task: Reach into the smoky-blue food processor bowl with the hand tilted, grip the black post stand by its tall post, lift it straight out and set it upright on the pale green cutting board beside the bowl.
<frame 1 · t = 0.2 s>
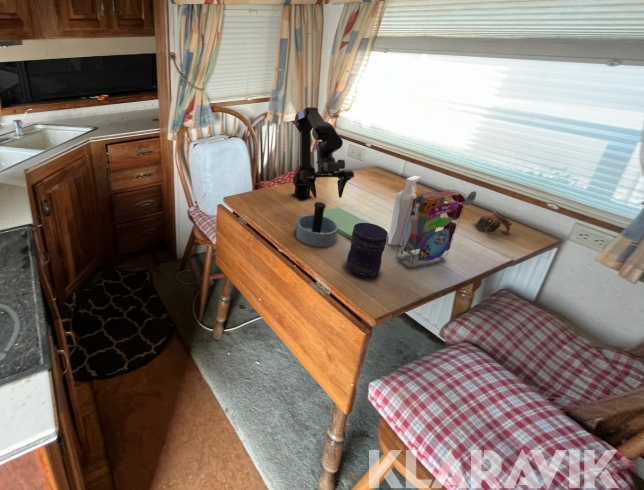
hand: (327, 197, 132), 15 cm above the table, tool tilted 35°, fingers open, 9 cm apart
cutting board: (344, 224, 143), on the table
processor bowl: (315, 236, 135), on the table
white pump bottle: (395, 242, 131), on the table
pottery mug: (490, 231, 138), on the table
storage jar: (361, 270, 116), on the table
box: (430, 258, 122), on the table
black post stand: (315, 235, 135), point 1 cm above the table, touching processor bowl
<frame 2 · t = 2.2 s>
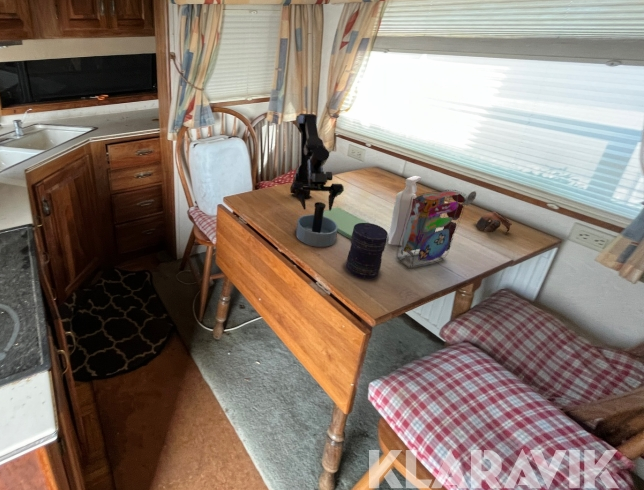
hand: (317, 210, 133), 10 cm above the table, tool tilted 45°, fingers open, 9 cm apart
nothing on the table moved.
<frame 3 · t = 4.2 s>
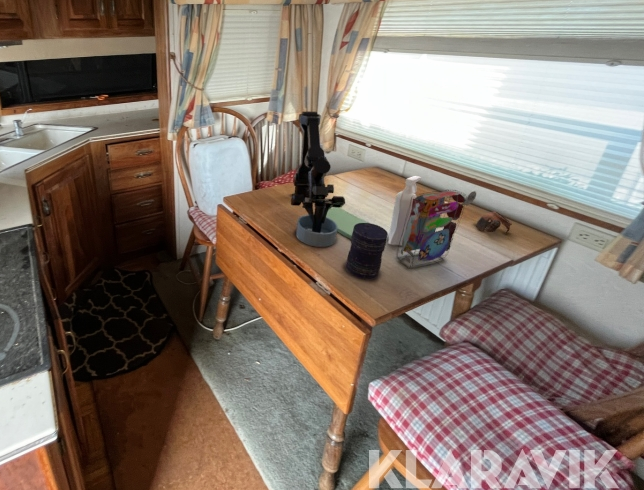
hand: (318, 223, 131), 7 cm above the table, tool tilted 45°, fingers closed on black post stand, 3 cm apart
black post stand: (315, 235, 135), point 1 cm above the table, touching gripper, processor bowl
everything else where it was.
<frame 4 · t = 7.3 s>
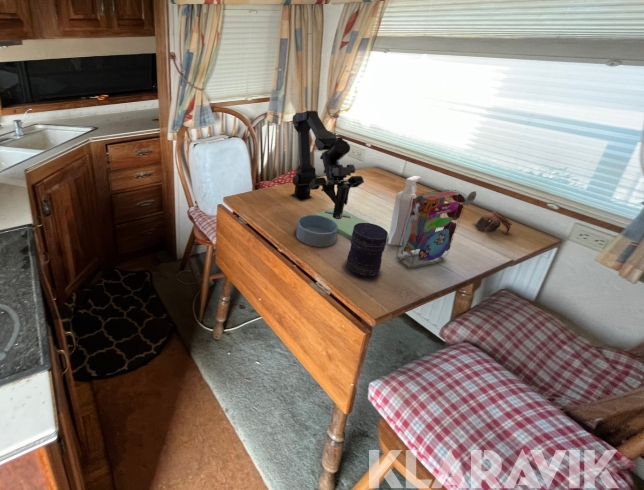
hand: (341, 204, 130), 13 cm above the table, tool tilted 45°, fingers closed on black post stand, 3 cm apart
black post stand: (337, 217, 133), point 7 cm above the table, touching gripper
everything else where it was.
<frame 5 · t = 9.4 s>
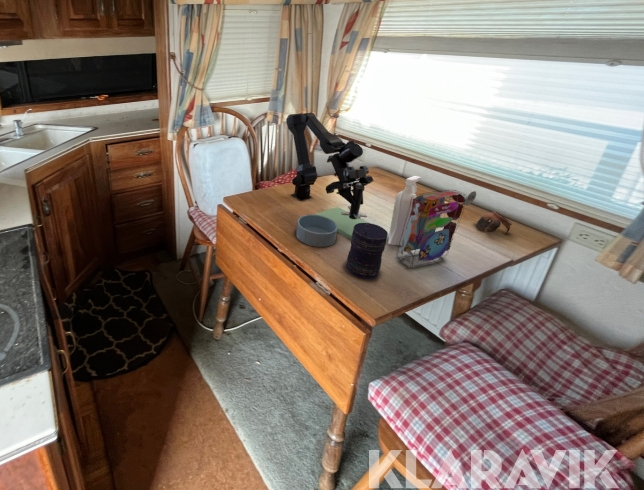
hand: (358, 205, 134), 11 cm above the table, tool tilted 45°, fingers closed on black post stand, 3 cm apart
black post stand: (353, 217, 137), point 5 cm above the table, touching gripper
everything else where it was.
when the fingers open (7 cm above the table, at t = 10.8 s): black post stand stays where it is, resting on cutting board.
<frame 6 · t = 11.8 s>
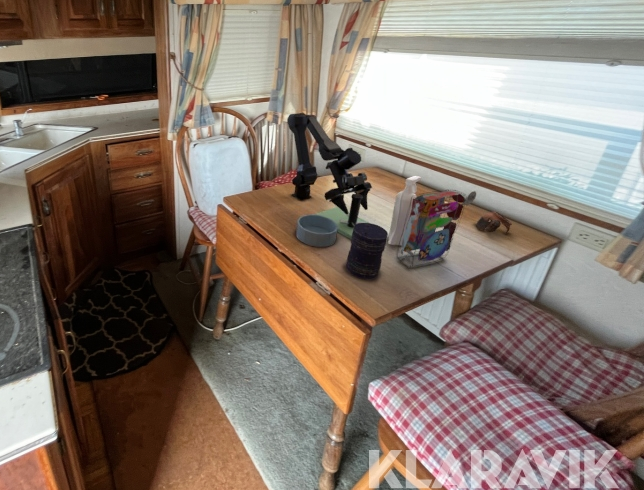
hand: (357, 211, 135), 8 cm above the table, tool tilted 45°, fingers open, 9 cm apart
black post stand: (351, 225, 139), point 1 cm above the table, touching cutting board
everything else where it was.
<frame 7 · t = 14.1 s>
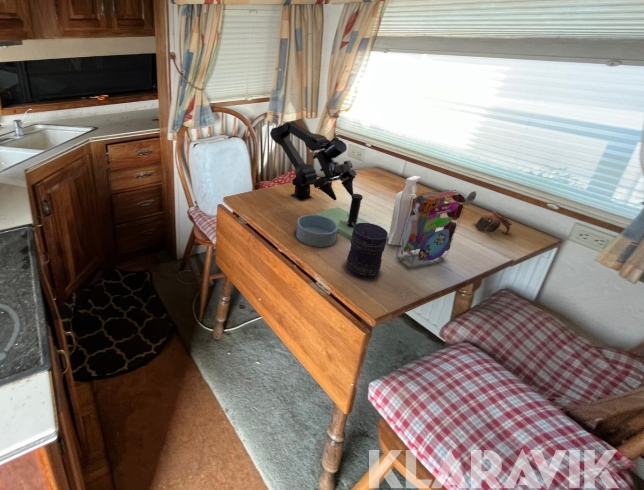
hand: (344, 197, 143), 10 cm above the table, tool tilted 45°, fingers open, 9 cm apart
nothing on the table moved.
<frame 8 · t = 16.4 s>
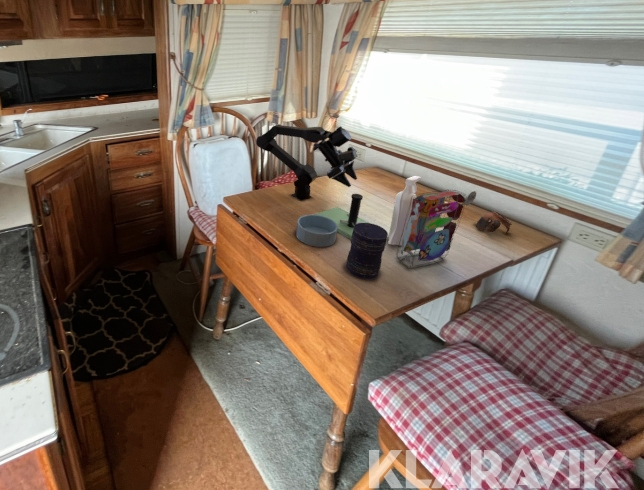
hand: (353, 182, 149), 13 cm above the table, tool tilted 45°, fingers open, 9 cm apart
nothing on the table moved.
at the end: black post stand inside the target area on the cutting board (4.0 cm from its centre), point 1.5 cm above the cutting board's base; black post stand touching cutting board; black post stand tilted 0° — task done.
